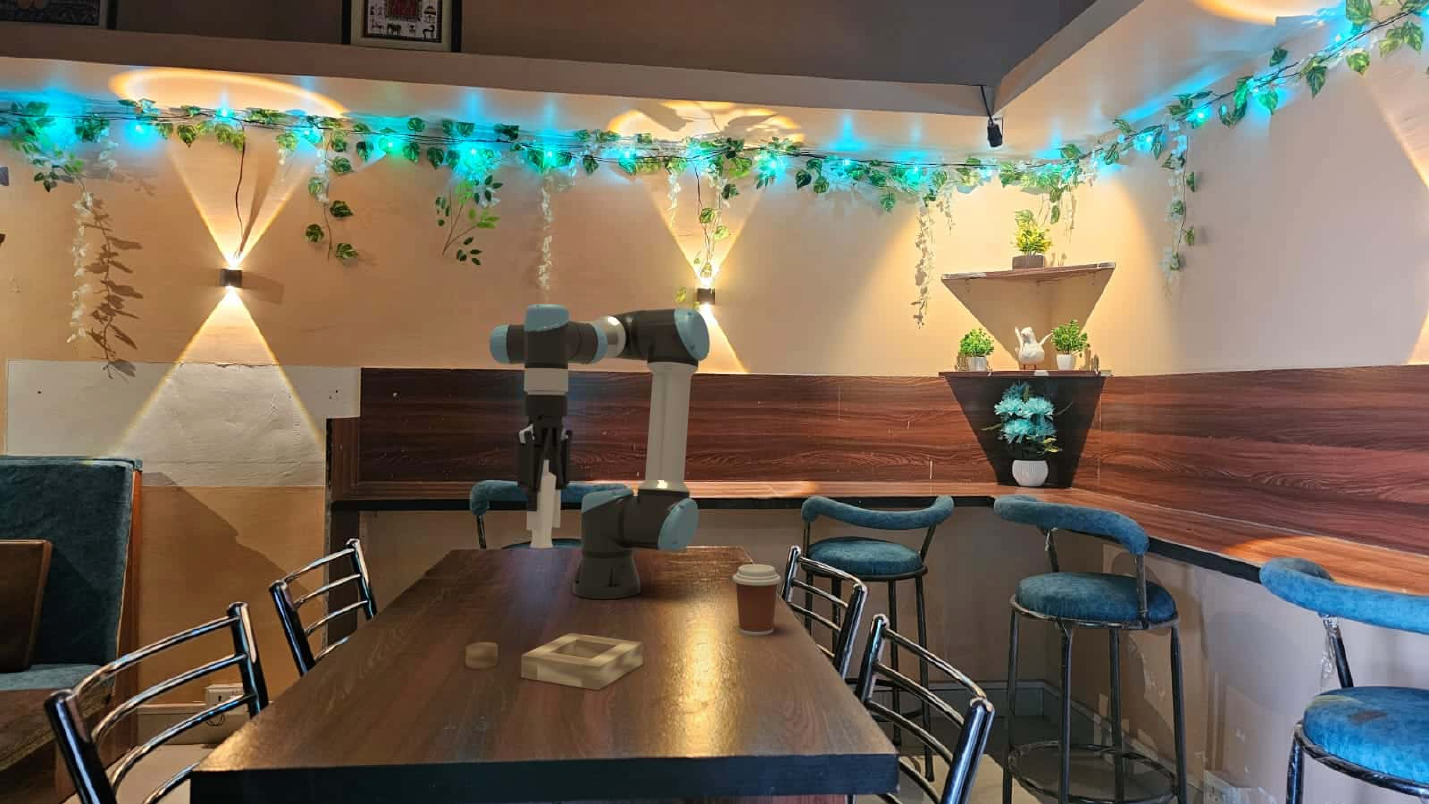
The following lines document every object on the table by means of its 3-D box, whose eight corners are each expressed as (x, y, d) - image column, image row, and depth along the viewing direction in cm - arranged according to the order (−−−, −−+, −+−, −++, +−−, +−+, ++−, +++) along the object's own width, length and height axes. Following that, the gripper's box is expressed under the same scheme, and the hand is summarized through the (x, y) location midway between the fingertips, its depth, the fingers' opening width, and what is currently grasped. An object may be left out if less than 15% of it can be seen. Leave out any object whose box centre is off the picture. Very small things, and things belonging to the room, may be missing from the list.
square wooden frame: (570, 653, 145) (570, 633, 145) (642, 663, 139) (642, 642, 139) (521, 677, 132) (521, 655, 132) (598, 690, 127) (598, 666, 127)
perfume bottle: (549, 549, 144) (550, 461, 144) (525, 548, 145) (526, 460, 145) (560, 545, 148) (561, 459, 148) (536, 544, 149) (538, 459, 149)
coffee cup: (755, 640, 154) (756, 574, 154) (722, 629, 161) (722, 566, 161) (790, 631, 160) (790, 568, 160) (756, 622, 167) (757, 561, 167)
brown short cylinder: (479, 658, 142) (479, 640, 142) (503, 662, 140) (503, 644, 140) (459, 667, 137) (459, 648, 137) (484, 671, 135) (484, 652, 135)
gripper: (557, 395, 156) (555, 521, 156) (495, 392, 140) (493, 533, 140) (591, 395, 153) (589, 524, 153) (532, 392, 137) (530, 536, 137)
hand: (543, 528), depth 146 cm, fingers closed on perfume bottle, 4 cm apart
